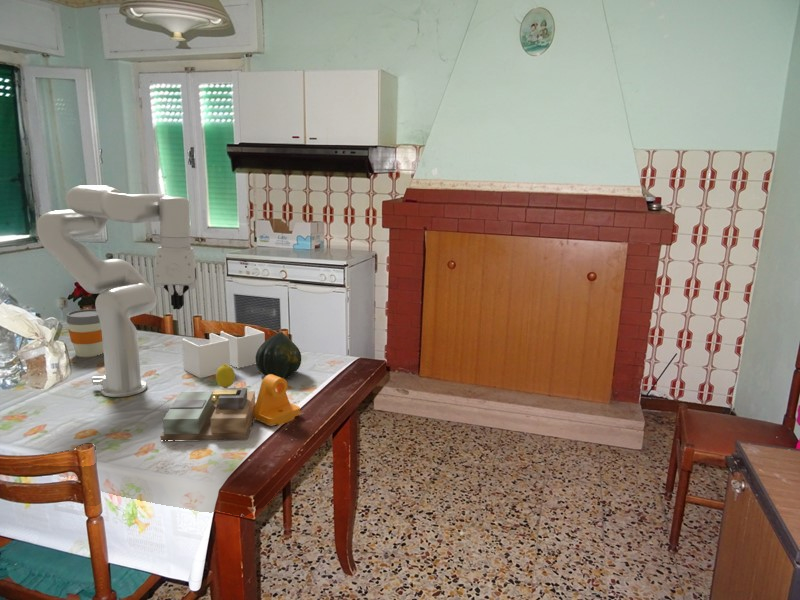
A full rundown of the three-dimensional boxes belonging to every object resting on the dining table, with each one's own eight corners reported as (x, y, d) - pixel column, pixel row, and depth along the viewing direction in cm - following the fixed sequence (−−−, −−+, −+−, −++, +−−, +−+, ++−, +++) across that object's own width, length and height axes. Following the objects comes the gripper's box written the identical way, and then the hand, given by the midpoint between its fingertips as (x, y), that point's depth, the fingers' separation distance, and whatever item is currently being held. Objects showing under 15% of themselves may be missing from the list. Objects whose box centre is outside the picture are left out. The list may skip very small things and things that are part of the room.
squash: (262, 371, 175) (289, 331, 180) (240, 360, 186) (266, 323, 191) (292, 392, 184) (317, 354, 188) (270, 381, 195) (294, 345, 199)
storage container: (200, 378, 183) (198, 346, 181) (183, 370, 190) (182, 339, 188) (265, 362, 201) (264, 332, 199) (248, 354, 208) (247, 326, 206)
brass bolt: (211, 407, 146) (210, 396, 146) (214, 400, 151) (214, 389, 150) (234, 407, 147) (234, 396, 146) (237, 400, 152) (237, 389, 151)
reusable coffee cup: (98, 359, 197) (94, 317, 194) (62, 358, 197) (58, 316, 194) (116, 348, 209) (113, 309, 206) (82, 347, 209) (79, 308, 206)
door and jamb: (160, 441, 140) (158, 409, 138) (181, 408, 159) (180, 379, 157) (247, 439, 142) (246, 407, 140) (257, 407, 162) (256, 379, 160)
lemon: (229, 393, 172) (228, 368, 170) (213, 391, 173) (212, 366, 171) (238, 386, 177) (237, 362, 175) (222, 384, 178) (221, 360, 176)
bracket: (270, 429, 149) (270, 386, 146) (253, 421, 153) (252, 379, 151) (301, 416, 157) (301, 376, 155) (284, 409, 162) (284, 369, 159)
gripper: (142, 243, 148) (145, 310, 153) (200, 246, 150) (201, 312, 154) (151, 239, 156) (154, 304, 160) (207, 242, 157) (208, 306, 161)
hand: (177, 308), depth 157 cm, fingers closed
